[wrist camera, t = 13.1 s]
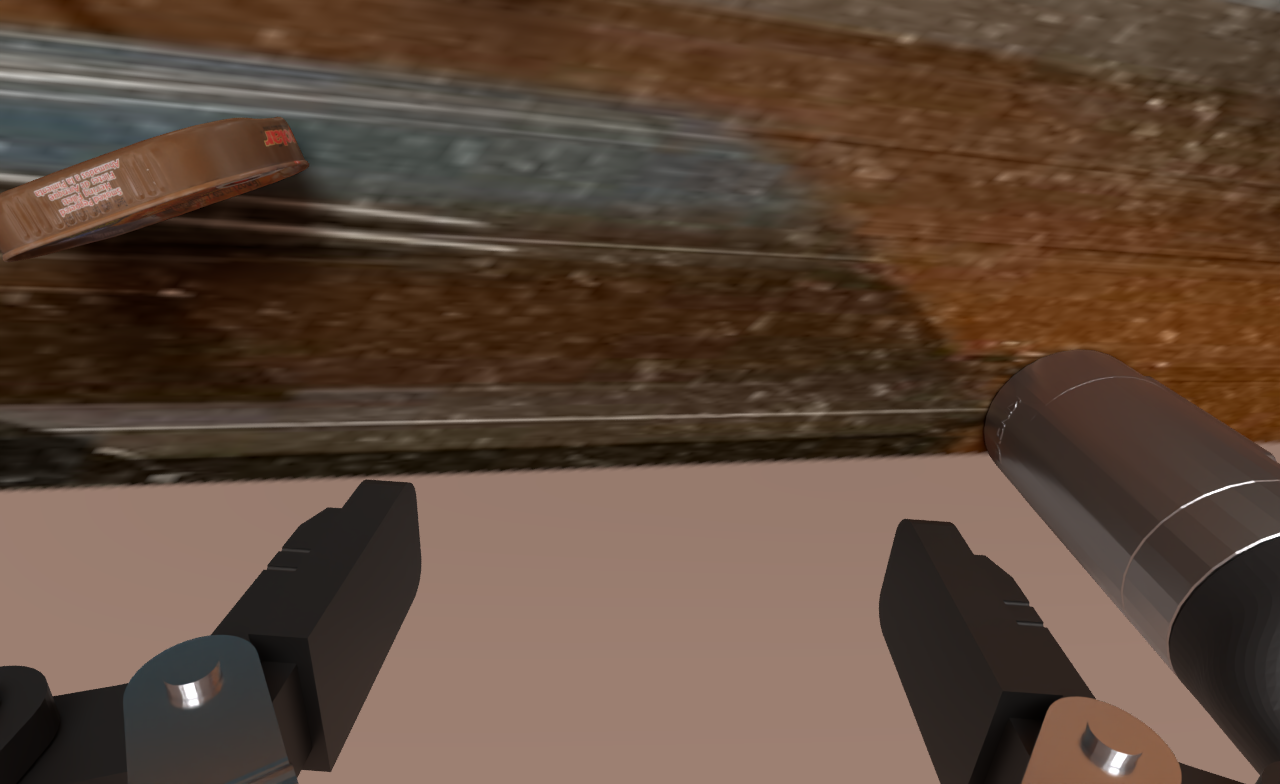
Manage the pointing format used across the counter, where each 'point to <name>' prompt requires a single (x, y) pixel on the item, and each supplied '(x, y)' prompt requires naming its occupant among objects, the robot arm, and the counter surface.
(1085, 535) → the robot arm
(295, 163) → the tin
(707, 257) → the counter surface
